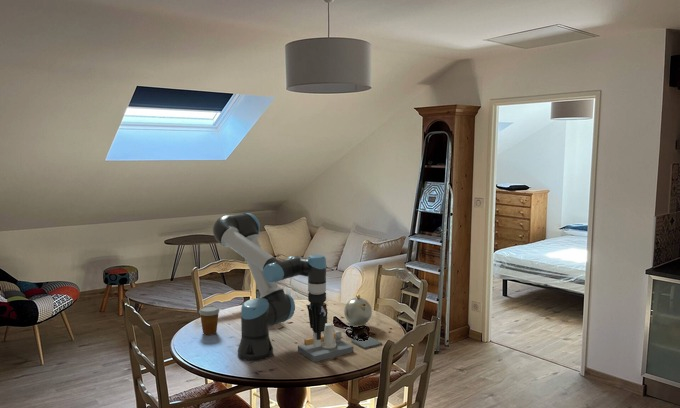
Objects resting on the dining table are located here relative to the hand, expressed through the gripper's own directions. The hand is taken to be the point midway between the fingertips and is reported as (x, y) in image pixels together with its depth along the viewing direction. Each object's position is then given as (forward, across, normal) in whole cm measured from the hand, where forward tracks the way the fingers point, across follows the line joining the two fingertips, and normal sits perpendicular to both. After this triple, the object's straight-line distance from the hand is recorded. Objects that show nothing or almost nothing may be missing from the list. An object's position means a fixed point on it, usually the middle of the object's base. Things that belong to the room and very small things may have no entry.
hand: (317, 346), depth 234 cm
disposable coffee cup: (+6, +54, +27) cm, 61 cm away
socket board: (+5, +4, -7) cm, 10 cm away
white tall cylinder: (+5, +3, -8) cm, 10 cm away
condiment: (+6, +31, -22) cm, 39 cm away
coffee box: (+6, +58, -5) cm, 59 cm away
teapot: (+6, +24, -38) cm, 46 cm away
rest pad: (+5, +2, -28) cm, 29 cm away
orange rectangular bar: (+1, +7, -7) cm, 10 cm away
